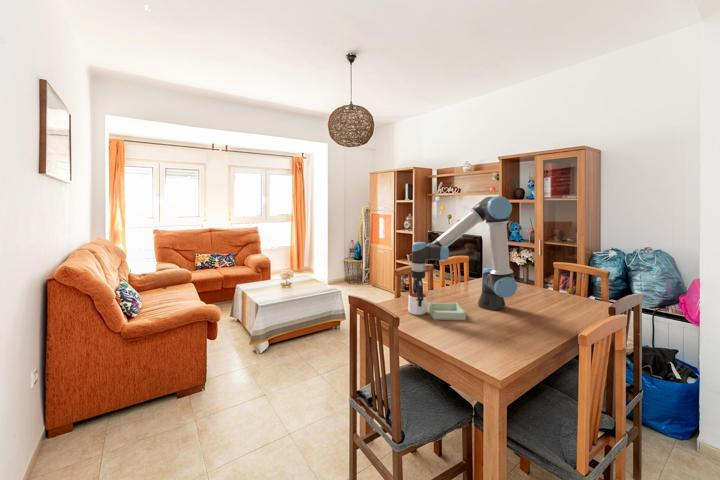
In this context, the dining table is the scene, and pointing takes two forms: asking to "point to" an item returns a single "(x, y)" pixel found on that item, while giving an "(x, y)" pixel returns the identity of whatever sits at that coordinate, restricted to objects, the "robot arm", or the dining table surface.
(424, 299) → the cup
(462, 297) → the dining table surface
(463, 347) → the dining table surface
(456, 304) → the pale green square tray
